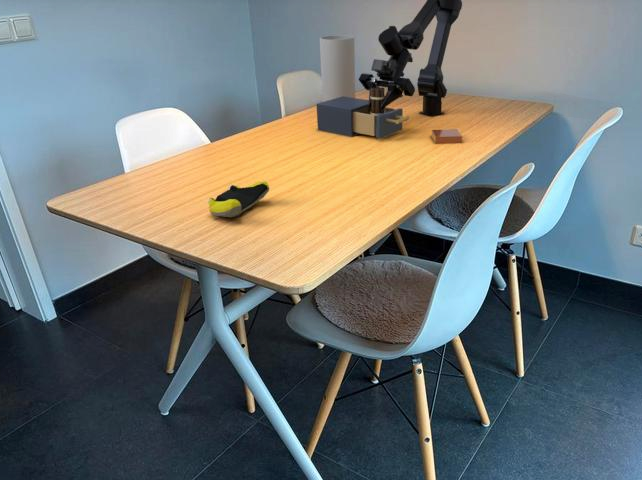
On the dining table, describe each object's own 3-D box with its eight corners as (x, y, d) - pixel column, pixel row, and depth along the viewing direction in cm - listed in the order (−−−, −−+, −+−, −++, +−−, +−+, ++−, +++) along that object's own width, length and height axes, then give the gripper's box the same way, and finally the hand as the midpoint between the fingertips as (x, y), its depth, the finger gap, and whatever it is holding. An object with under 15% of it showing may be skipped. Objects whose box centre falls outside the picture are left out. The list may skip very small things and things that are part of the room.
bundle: (370, 119, 180) (370, 87, 175) (385, 119, 179) (385, 87, 174) (370, 122, 176) (369, 90, 171) (385, 122, 175) (385, 90, 170)
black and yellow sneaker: (274, 202, 131) (239, 196, 135) (272, 180, 128) (236, 175, 132) (237, 227, 119) (200, 220, 123) (234, 203, 116) (196, 196, 120)
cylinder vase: (362, 107, 213) (361, 36, 200) (339, 113, 205) (337, 40, 193) (338, 102, 220) (336, 34, 208) (316, 108, 212) (312, 38, 200)
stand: (431, 136, 176) (431, 129, 175) (456, 135, 176) (457, 129, 175) (435, 143, 169) (435, 136, 168) (461, 142, 169) (462, 136, 168)
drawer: (414, 132, 177) (415, 110, 174) (391, 141, 169) (392, 119, 165) (369, 123, 187) (369, 103, 184) (345, 132, 179) (345, 110, 176)
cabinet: (376, 127, 186) (377, 101, 182) (351, 136, 177) (350, 109, 173) (343, 121, 195) (343, 96, 190) (317, 129, 186) (316, 103, 181)
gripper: (361, 46, 175) (340, 88, 173) (411, 50, 164) (388, 95, 162) (376, 68, 184) (356, 109, 182) (424, 74, 173) (403, 117, 172)
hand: (375, 107), depth 174 cm, fingers closed on bundle, 4 cm apart
